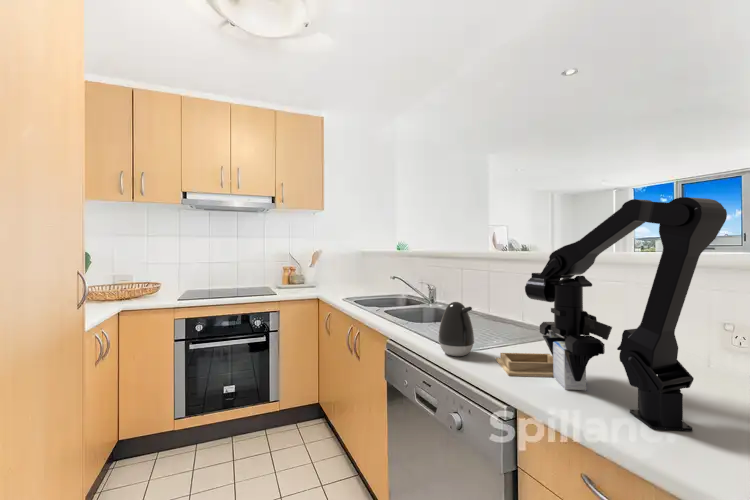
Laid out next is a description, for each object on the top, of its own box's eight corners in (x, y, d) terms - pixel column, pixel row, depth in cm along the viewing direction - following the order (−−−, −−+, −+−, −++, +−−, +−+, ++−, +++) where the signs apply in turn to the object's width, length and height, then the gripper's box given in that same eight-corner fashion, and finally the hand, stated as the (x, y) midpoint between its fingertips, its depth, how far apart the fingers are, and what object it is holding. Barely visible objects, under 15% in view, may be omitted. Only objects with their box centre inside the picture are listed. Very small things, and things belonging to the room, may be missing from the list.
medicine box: (586, 391, 76) (586, 351, 76) (564, 390, 76) (564, 350, 76) (572, 378, 83) (572, 341, 83) (552, 377, 84) (552, 340, 84)
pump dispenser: (460, 361, 96) (460, 305, 96) (431, 353, 104) (431, 301, 104) (482, 354, 102) (481, 302, 102) (453, 346, 110) (452, 298, 110)
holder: (569, 377, 84) (569, 366, 84) (508, 375, 85) (508, 365, 85) (548, 361, 96) (548, 351, 96) (496, 360, 97) (496, 350, 97)
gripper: (632, 313, 70) (632, 391, 70) (584, 299, 88) (585, 362, 88) (573, 312, 71) (573, 390, 71) (538, 299, 89) (539, 361, 89)
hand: (568, 374), depth 80 cm, fingers closed on medicine box, 8 cm apart
